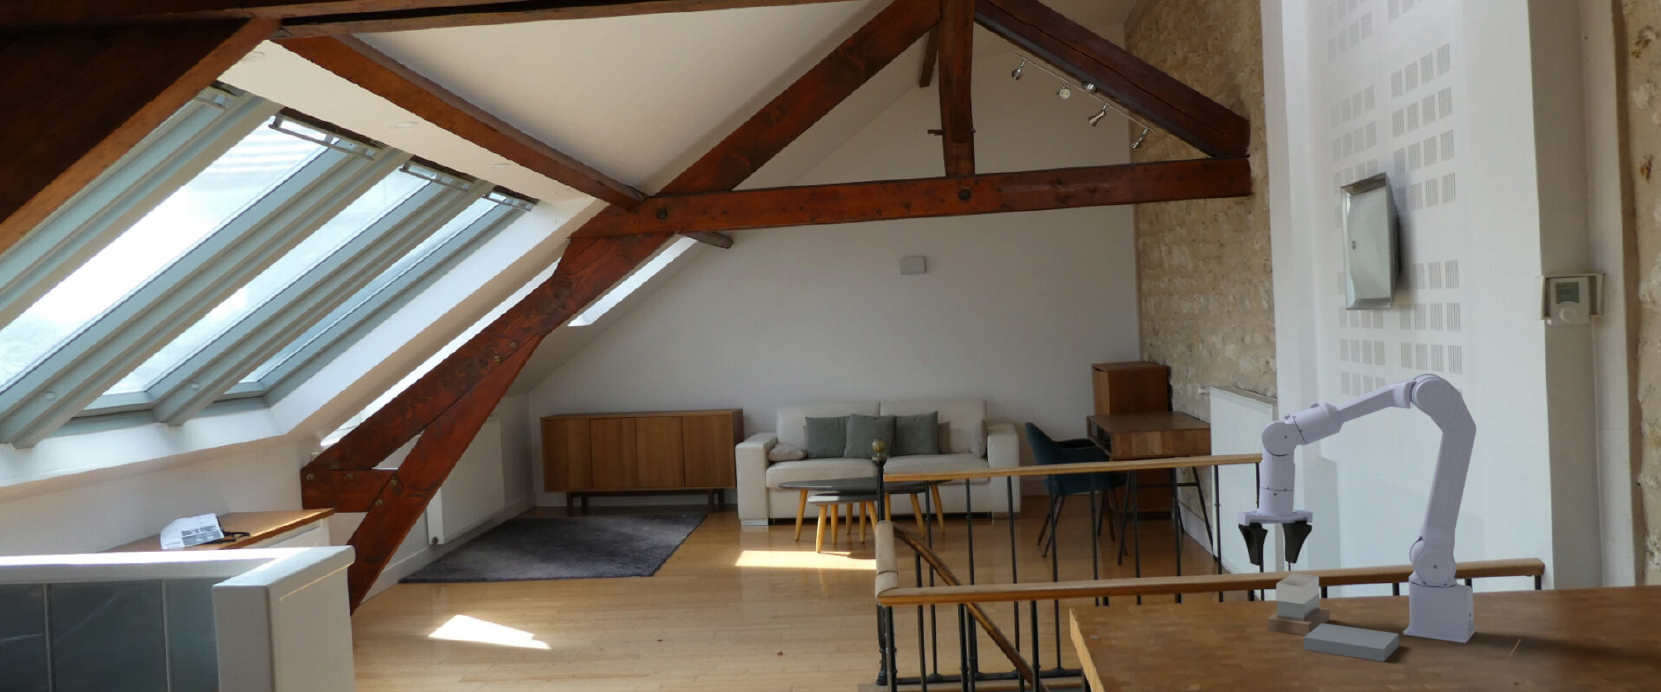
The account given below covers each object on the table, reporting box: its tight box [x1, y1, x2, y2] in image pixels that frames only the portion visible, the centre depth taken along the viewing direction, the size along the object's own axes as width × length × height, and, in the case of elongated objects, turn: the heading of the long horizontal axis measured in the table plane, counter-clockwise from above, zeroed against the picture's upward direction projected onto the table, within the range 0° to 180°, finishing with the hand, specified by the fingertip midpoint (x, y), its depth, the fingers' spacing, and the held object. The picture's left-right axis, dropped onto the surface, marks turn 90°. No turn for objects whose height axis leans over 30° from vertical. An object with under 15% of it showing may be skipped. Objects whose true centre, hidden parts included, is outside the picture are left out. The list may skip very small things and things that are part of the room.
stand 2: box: [1303, 623, 1400, 662], centre depth 181 cm, size 12×10×2 cm
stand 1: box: [1266, 607, 1331, 637], centre depth 195 cm, size 7×12×2 cm, turn 140°
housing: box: [1275, 572, 1321, 621], centre depth 195 cm, size 4×9×6 cm, turn 140°
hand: (1273, 563), depth 197 cm, fingers open, 7 cm apart
